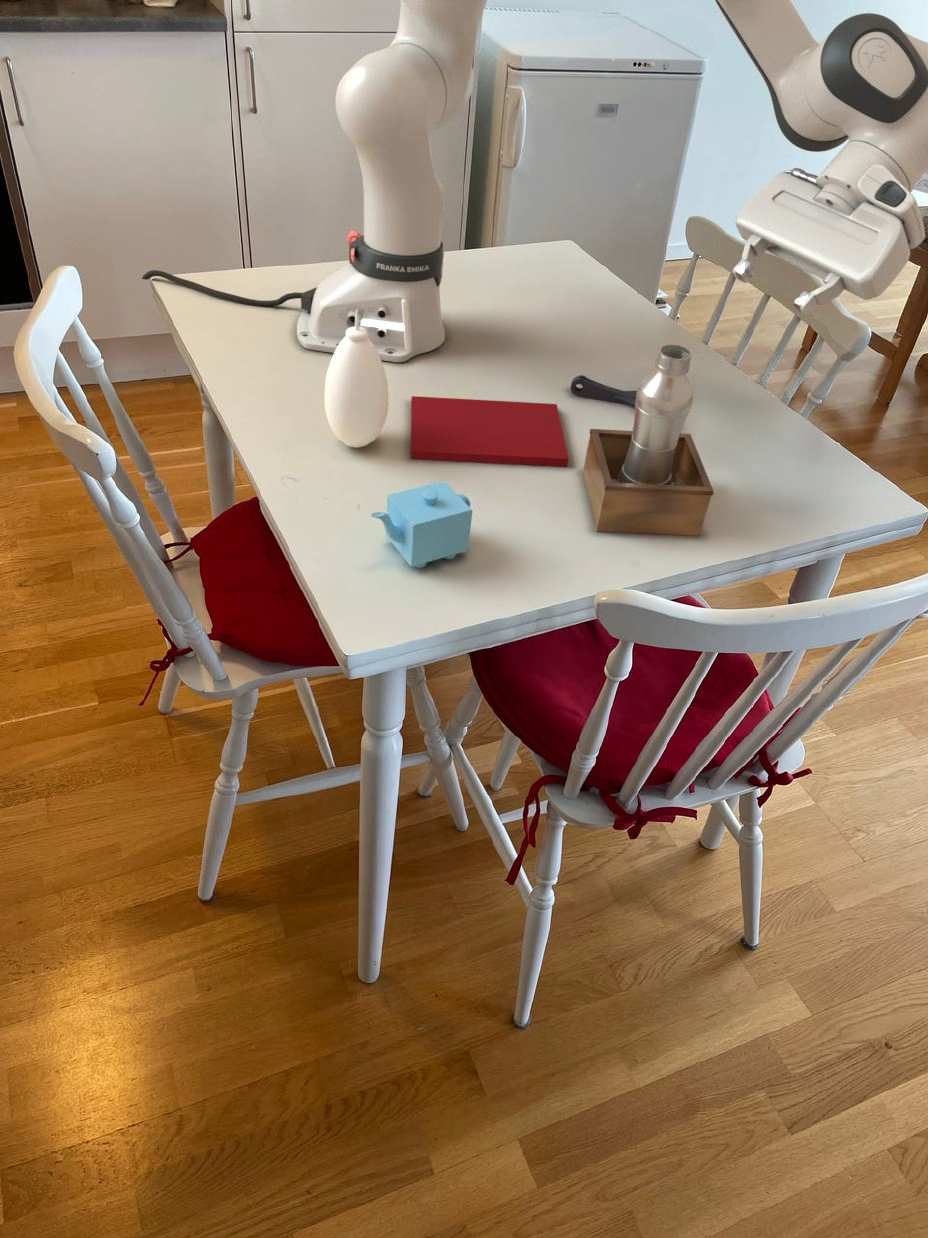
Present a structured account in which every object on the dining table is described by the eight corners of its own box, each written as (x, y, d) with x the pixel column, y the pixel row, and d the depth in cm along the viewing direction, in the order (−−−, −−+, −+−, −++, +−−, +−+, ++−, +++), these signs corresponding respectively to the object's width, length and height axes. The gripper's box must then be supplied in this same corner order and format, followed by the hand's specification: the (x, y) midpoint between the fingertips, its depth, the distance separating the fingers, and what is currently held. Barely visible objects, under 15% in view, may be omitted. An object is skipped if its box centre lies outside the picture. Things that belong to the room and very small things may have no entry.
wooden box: (595, 531, 112) (605, 486, 108) (581, 472, 122) (590, 428, 118) (700, 536, 113) (714, 491, 109) (678, 477, 123) (690, 433, 119)
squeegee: (574, 370, 143) (577, 353, 141) (674, 386, 141) (678, 369, 140) (564, 418, 132) (567, 400, 130) (672, 435, 131) (676, 417, 129)
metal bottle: (673, 499, 119) (714, 349, 106) (652, 525, 114) (692, 372, 101) (625, 482, 121) (659, 332, 108) (603, 506, 116) (636, 353, 103)
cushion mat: (410, 459, 121) (411, 450, 120) (411, 403, 131) (411, 395, 131) (567, 466, 123) (568, 458, 122) (555, 411, 133) (556, 403, 132)
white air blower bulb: (318, 431, 124) (315, 297, 112) (376, 424, 126) (379, 292, 115) (334, 463, 119) (333, 326, 107) (394, 455, 121) (399, 320, 109)
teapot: (382, 581, 102) (384, 524, 97) (358, 549, 106) (359, 493, 101) (479, 553, 107) (485, 498, 102) (452, 524, 111) (457, 469, 106)
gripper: (779, 144, 109) (695, 242, 111) (928, 204, 96) (829, 313, 98) (794, 181, 113) (713, 275, 116) (937, 243, 101) (844, 346, 103)
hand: (768, 293), depth 107 cm, fingers open, 8 cm apart
